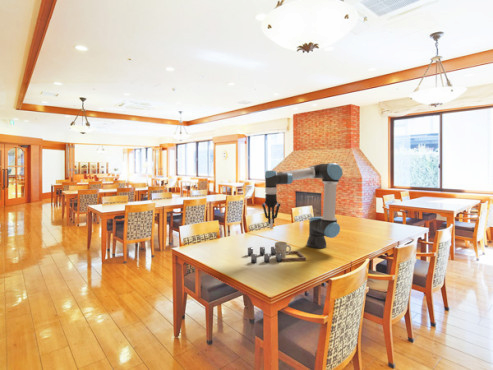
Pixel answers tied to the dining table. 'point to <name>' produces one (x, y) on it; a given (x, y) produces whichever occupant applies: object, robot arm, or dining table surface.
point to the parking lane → (301, 258)
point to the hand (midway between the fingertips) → (271, 228)
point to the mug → (282, 248)
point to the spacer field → (266, 256)
